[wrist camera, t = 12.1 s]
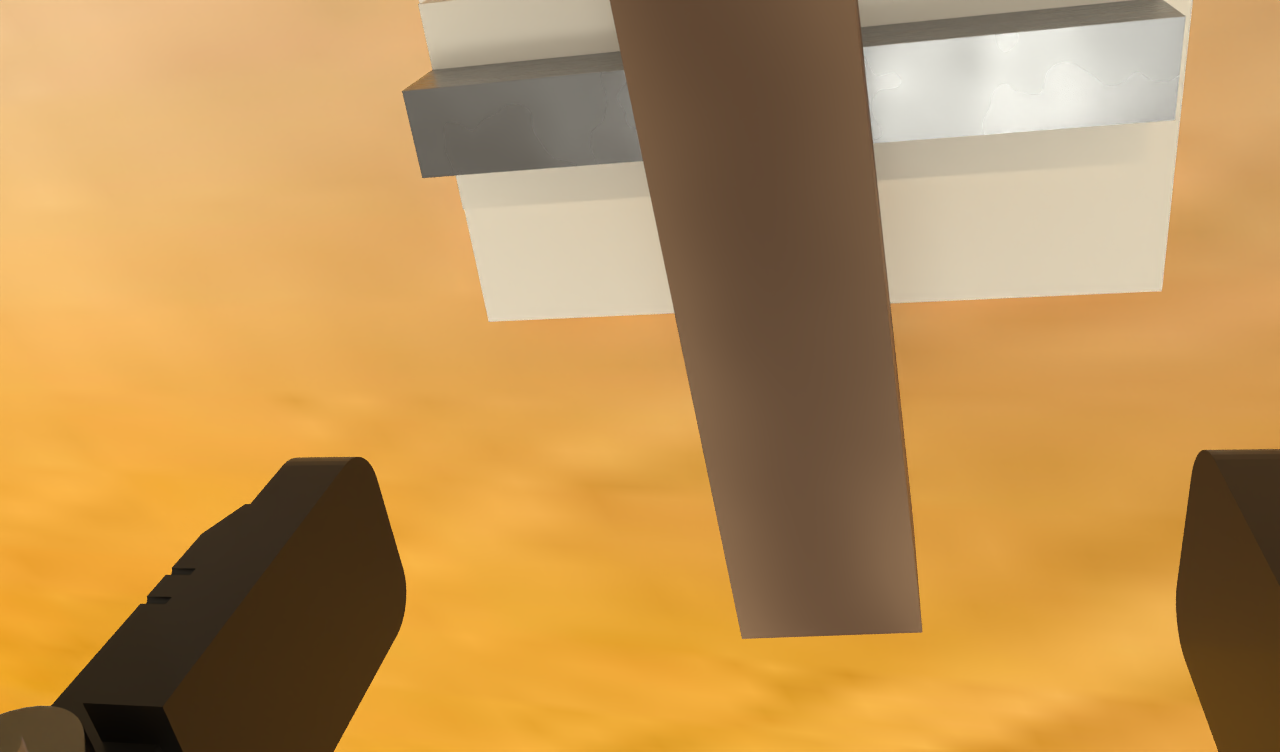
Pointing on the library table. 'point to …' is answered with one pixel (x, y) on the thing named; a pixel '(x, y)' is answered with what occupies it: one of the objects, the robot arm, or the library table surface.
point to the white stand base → (902, 139)
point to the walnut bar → (780, 301)
